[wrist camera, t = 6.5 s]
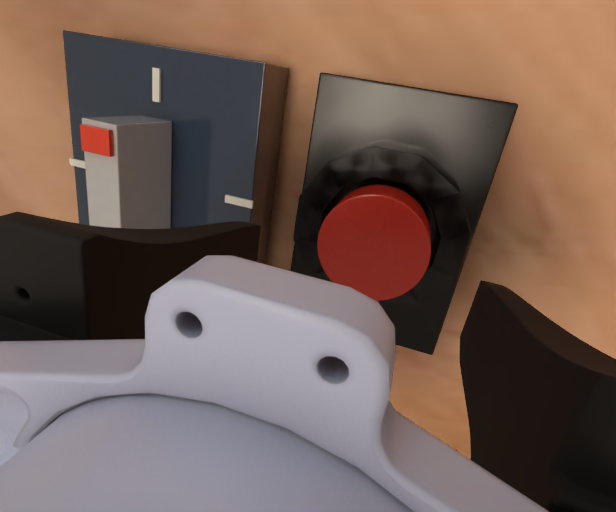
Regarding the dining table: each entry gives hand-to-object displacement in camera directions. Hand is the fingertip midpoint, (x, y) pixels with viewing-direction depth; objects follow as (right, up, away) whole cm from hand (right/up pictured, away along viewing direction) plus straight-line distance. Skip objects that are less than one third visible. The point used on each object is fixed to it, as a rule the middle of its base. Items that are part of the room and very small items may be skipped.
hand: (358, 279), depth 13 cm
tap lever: (-9, +4, +7) cm, 12 cm away
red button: (+1, +2, +4) cm, 5 cm away
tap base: (-8, +5, +9) cm, 14 cm away
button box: (+2, +3, +7) cm, 8 cm away
